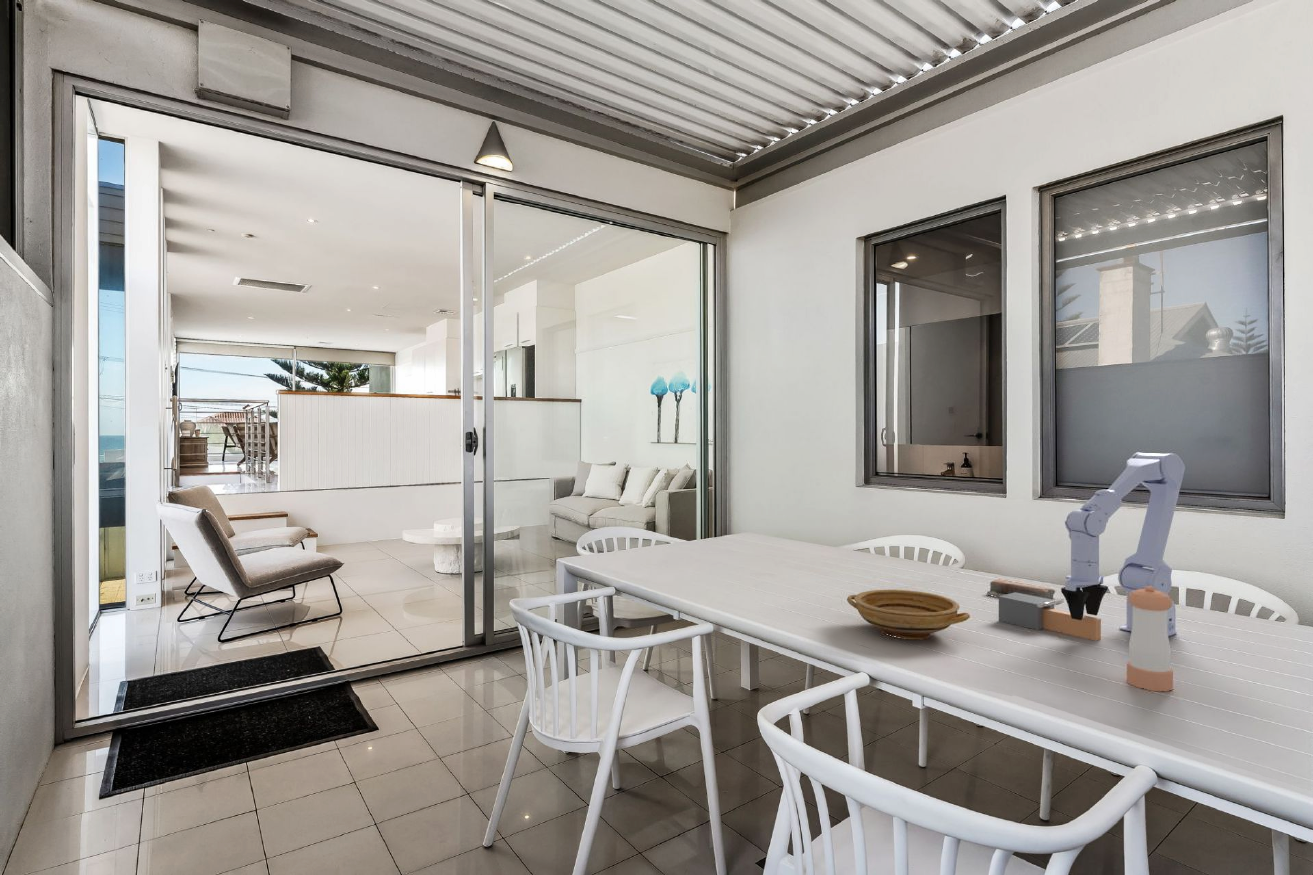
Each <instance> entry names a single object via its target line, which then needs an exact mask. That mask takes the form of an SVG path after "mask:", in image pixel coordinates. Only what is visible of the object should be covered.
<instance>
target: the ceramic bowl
mask: <svg viewBox="0 0 1313 875" xmlns="http://www.w3.org/2000/svg"><path fill="white" fill-rule="evenodd" d="M846 601H847V603H848V604H849V605H850V606H852V607H853V608H854V609H855V610H857V611H858V613H859V615H860V616H861V618H862V619H863V620H864V621H866V622H867V623H868V624H870V625H872V626H874V627H876V628H878V629H880V631H881V630H882V631H881V633H883V632H884V633H885V634H888V635H891V636H896V637H900V638H905V639H904V640H906V639H920V640H925V639H924V638H926V639H928V638H930V636H931V634H934V633H937V632H940V631H943V630H946V629H947V628H949V627H950V626H951V625H955V624H959V623H963V622H966V621H967V620H968V619H970V618H971V615H970V613H968V612H960V613H958V610H960V604H959V602H957V601H955V600H953V599H951V598H948V597H945V596H943V595H938V594H935V593H929V592H924V591H918V590H917V591H916V590H907V589H873V590H867V591H863V592H861V593H860V592H859V593H858V594H850V595H848V597H846ZM884 633H883V634H884ZM885 634H884V635H885ZM888 635H887V636H888ZM927 637H928V638H927Z"/></svg>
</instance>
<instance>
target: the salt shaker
mask: <svg viewBox="0 0 1313 875" xmlns="http://www.w3.org/2000/svg"><path fill="white" fill-rule="evenodd" d="M1128 601H1129V603H1130V604H1131V605H1132V606H1133V620H1132V632H1131V631H1130V637H1129V638H1130V639H1129V642H1128V660H1129V661H1128V662H1127V663H1126V682H1127V683H1128V684H1129V685H1131V686H1133V687H1136V688H1139V689H1142V688H1144V689H1143V690H1146V689H1147V691H1153V692H1162V691H1164V692H1170V691H1169V690H1171V691H1172V690H1173V689H1174V670H1173V669H1172V668H1171V662H1172V661H1171V660H1172V651H1171V644H1170V638H1169V636H1168V633H1167V610H1169V609H1170V608H1171V606H1172V604H1173V603H1172V601H1173V600H1172V599H1171V597H1170V596H1169V594H1165V593H1163V592H1160V591H1156V590H1155V589H1154V587H1151V586H1146V587H1145V589H1138V590H1134V591H1132V592H1131V593H1130V594H1129V595H1128ZM1172 688H1173V689H1172Z"/></svg>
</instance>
